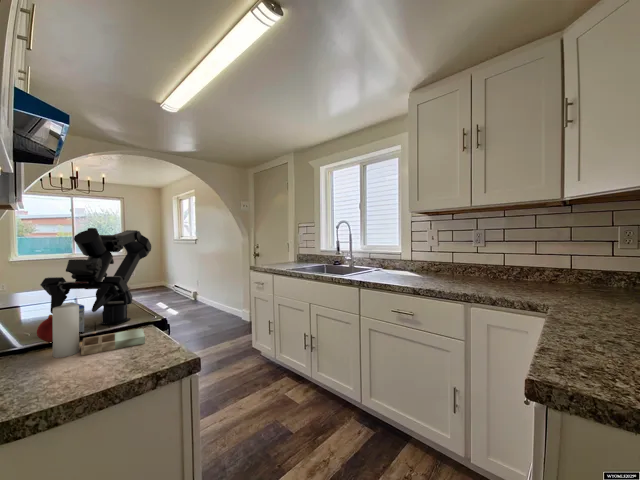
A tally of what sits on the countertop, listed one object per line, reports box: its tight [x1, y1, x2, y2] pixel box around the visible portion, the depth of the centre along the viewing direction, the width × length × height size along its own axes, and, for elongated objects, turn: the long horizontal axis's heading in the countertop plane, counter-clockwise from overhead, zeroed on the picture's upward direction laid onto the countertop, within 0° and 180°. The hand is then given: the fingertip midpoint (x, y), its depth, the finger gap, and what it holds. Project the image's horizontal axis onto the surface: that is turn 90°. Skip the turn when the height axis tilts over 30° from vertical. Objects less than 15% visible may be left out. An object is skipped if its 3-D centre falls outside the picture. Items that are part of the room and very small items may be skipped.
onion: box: [36, 314, 53, 344], centre depth 77 cm, size 6×6×8 cm
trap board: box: [80, 327, 146, 356], centre depth 76 cm, size 14×8×2 cm, turn 128°
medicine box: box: [61, 301, 85, 333], centre depth 85 cm, size 8×4×9 cm, turn 62°
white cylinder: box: [52, 305, 80, 359], centre depth 70 cm, size 5×5×12 cm
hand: (72, 312), depth 73 cm, fingers open, 9 cm apart
